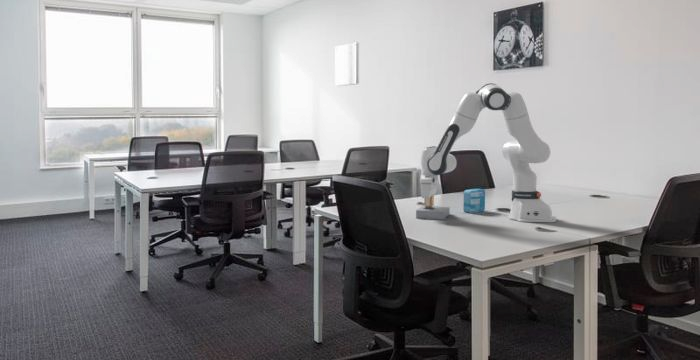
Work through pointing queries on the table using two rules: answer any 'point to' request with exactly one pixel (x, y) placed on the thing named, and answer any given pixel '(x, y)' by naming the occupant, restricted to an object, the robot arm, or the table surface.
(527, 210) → the robot arm
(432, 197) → the plug
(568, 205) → the table surface
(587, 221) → the table surface
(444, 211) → the socket box
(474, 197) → the data package
